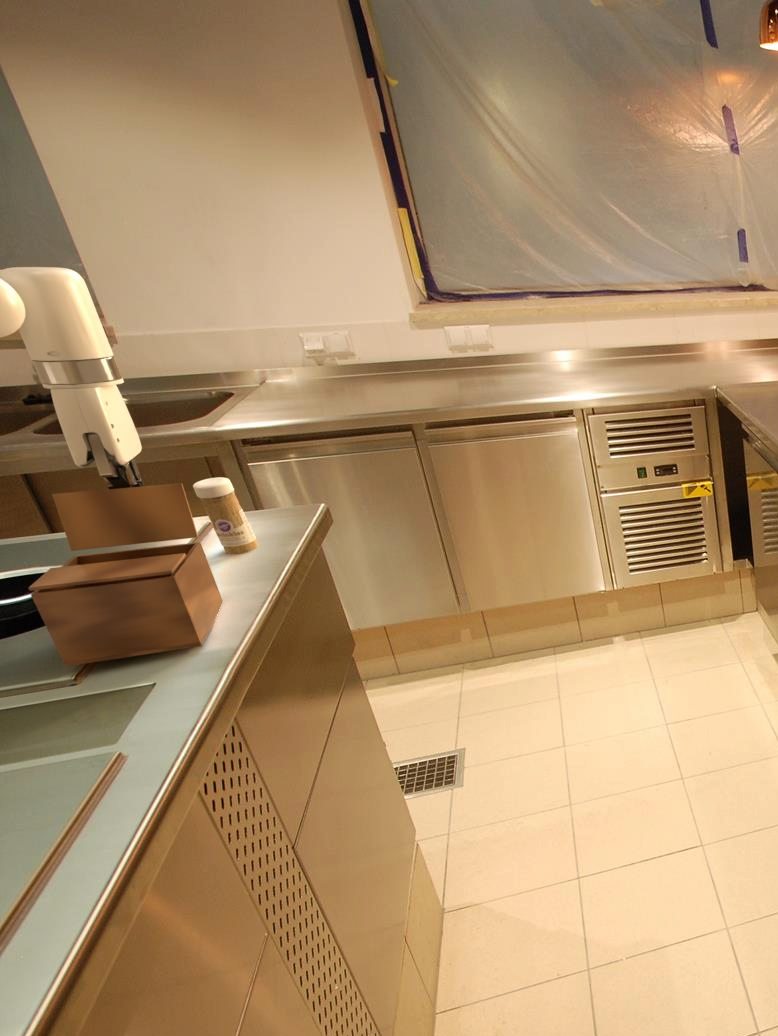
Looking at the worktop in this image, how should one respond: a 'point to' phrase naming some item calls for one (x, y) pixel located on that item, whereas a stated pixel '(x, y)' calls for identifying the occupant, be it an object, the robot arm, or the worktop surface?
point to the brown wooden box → (128, 602)
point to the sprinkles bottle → (226, 515)
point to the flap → (125, 516)
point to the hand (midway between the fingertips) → (136, 512)
